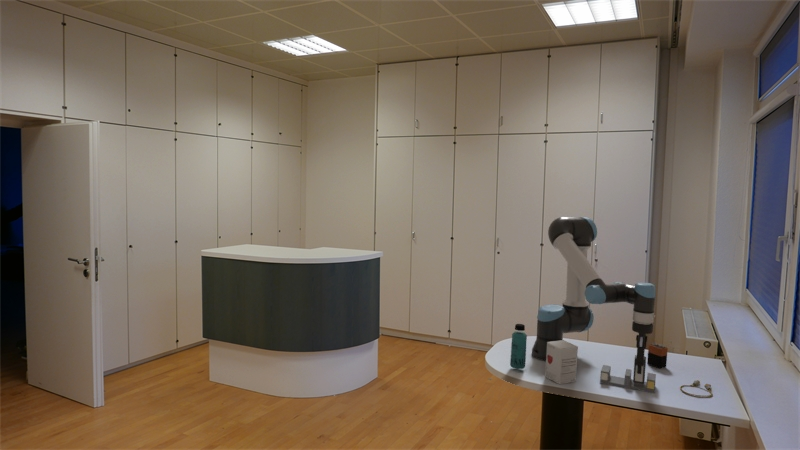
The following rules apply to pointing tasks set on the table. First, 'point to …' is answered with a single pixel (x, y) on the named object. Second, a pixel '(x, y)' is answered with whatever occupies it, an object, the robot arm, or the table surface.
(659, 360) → the battery
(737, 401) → the table surface
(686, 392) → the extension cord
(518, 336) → the beverage bottle
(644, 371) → the plug
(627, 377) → the grey three-post rail
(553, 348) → the supplement box
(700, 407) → the table surface
